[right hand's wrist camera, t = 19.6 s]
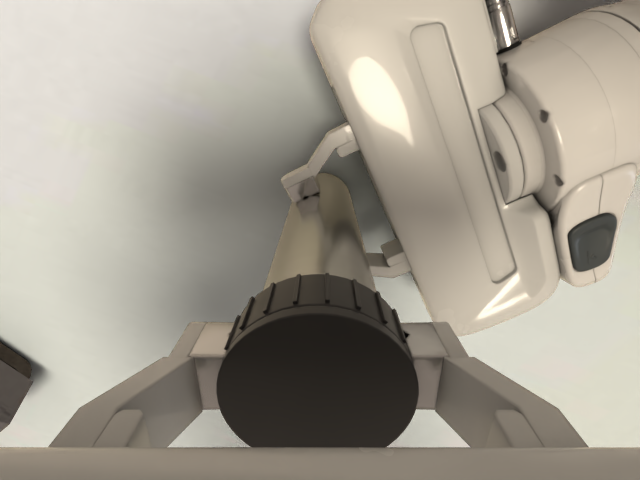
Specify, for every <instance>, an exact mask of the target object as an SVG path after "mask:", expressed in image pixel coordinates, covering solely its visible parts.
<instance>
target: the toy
mask: <svg viewBox="0 0 640 480" xmlns="http://www.w3.org/2000/svg"><path fill="white" fill-rule="evenodd" d="M31 370H32V369H31V365H30V363H29V362H28V361H27V360H26V359H24V358H23V357H21V356H20V355H18V354H17V353H15V352H14V351H12V350H11V349H9V348H8V347H6V346H5V345H3V344H2V343H0V432H1V431H2V430H3V429H4V428H6V427H7V426H8V425H9V424H10V422H11V421H12V419H13V417H14V415H15V414H16V412H17V410H18V408H19V406H20V405H21V403H22V401H23V399H24V397H25V395H26V394H27V392H28V390H29V388H30V386H31V385H32V383H33V381H31V380H30V379H29V378H30V376H31Z"/></svg>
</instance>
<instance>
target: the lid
mask: <svg viewBox="0 0 640 480" xmlns="http://www.w3.org/2000/svg"><path fill="white" fill-rule="evenodd" d="M406 342H407V341H406V338H405V335H404V332H403V329H402V326H401V323H400V321H399V318H398V315H397V312H396V310H395V309H393V310H392V309H391V307H390V306H389V305H388V304H387V303H386V301H385V300H384V299H382V298H381V296H380V293H379V292H378V291H376V292H374V291H372V290H371V289H370V288H368V287H366V286H364V285H362V284H360V283H358V282H357V280H356V279H353V280H350V279H348V278H344V277H340V276H335V275H329V273H325V274H309V275H301V274H297V276H296V277H292V278H288V279H285V280H283V281H280V282H277V283H274V282H273V283H271V284H270V287H268V288H266V289H265V290H263V291H262V292H261V293H259V294H258V295H257V296H256V297H255V298H254V297H251V298H250V300H249V303H248V305H247V307H246V308H245V309H244V311H243V312H242V314H241V316H239V315H238V316H237V318H236V320H235V323H234V325H233V328H232V330H231V333H230V335H229V338H228V340H227V342H226V345H225V347H224V350H227V351H226V354H225V356H224V359H223V361H222V364H221V367H220V369H219V372H218V377H217V382H216V393H217V399H218V404H219V407H220V410H221V413H222V415H223V417H224V419H225V421H226V422H227V424H228V425H229V427H230V428H231V429H232V431H233V432H234V433H235V434H236V435H237V436H238V437H239V438H240V439H241V440H243V441H244V442H245V443H246V444H247V445H249V446H250V447H378V448H385V447H387V446H388V445H390V444H391V443H392V442H393V441H394V440H396V439H397V438H398V437H399V436H400V435H401V433H402V432H403V431H404V430H405V429H406V427H407V426H408V424H409V423H410V421H411V419H412V417H413V415H414V413H415V410H416V407H417V403H418V396H419V383H418V378H417V374H416V370H415V367H414V364H413V362H412V360H411V356H410V353H409V350H408V347H407V345H406Z"/></svg>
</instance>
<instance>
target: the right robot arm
mask: <svg viewBox="0 0 640 480" xmlns="http://www.w3.org/2000/svg"><path fill="white" fill-rule="evenodd" d="M234 323H235V322H191V323H189V324H188V326H187V327H186V329H185V331H184V332H183V334H182V336H181V337H180V339H179V341H178V342H177V344H176V345H175V347H174V349H173V350H172V352H171V354H170V355H169V357H163V358H161V359H160V360H158V361H156V362H155V363H153V364H151V365H150V366H148V367H146V368H145V369H143V370H141V371H140V372H138V373H136V374H135V375H133V376H131V377H130V378H128V379H127V380H125V381H123V382H122V383H120V384H118V385H117V386H115V387H113V388H112V389H110V390H108V391H107V392H105V393H103V394H102V395H100V396H98V397H97V398H95V399H94V400H92V401H90V402H89V403H87V404H85V405H84V406H82V407H80V408H79V409H78V410H77V412H76V413H75V414H74V415H73V417H72V418H71V419H70V420H69V422H68V423H67V424H66V425H65V427H64V428H63V429H62V430H61V432H60V433H59V434H58V435H57V437H56V438H55V439H54V440H53V442H52V443H51V444H50V445H49V447H0V480H640V447H613V448H589V447H588V446H587V444H586V443H585V442H584V441H583V439H582V438H581V437H580V436H579V434H578V433H577V432H576V430H575V429H574V428H573V427H572V425H571V424H570V423H569V421H568V420H567V419H566V418H565V416H564V415H563V414H562V413H561V411H560V410H559V409H558V408H557V407H555V406H553V405H552V404H550V403H548V402H547V401H545V400H543V399H542V398H540V397H539V396H537V395H535V394H534V393H532V392H530V391H529V390H527V389H525V388H524V387H522V386H521V385H519V384H517V383H516V382H514V381H512V380H511V379H509V378H507V377H506V376H504V375H503V374H501V373H499V372H498V371H496V370H494V369H493V368H491V367H489V366H488V365H486V364H485V363H483V362H481V361H480V360H478V359H476V358H475V357H469V356H468V354H467V353H466V351H465V349H464V348H463V346H462V344H461V343H460V341H459V339H458V338H457V336H456V334H455V333H454V331H453V329H452V328H451V326H450V325H449V323H447V322H430V323H401V326H402V329H403V332H404V335H405V338H406V341H407V342H406V345H407V347H408V350H409V353H410V356H411V360H412V362H413V364H414V367H415V370H416V374H417V378H418V383H419V396H418V403H417V407H416V409H431V410H435V411H436V412H437V413H438V414H439V415H440V416H441V417H442V418H443V419H444V420H445V421H446V423H447V424H448V425H449V426H450V427H451V428H452V429H453V430H454V431H455V432H456V433H457V434H458V435H459V436H460V437H461V438H462V439H463V440H464V441H465V442H466V443H467V444H468V445H469V446H470V447H471V448H378V447H187V448H167V447H168V446H169V445H170V444H171V443H172V442H173V441H174V440H175V439H176V438H177V437H178V436H179V435H180V434H181V433H182V431H183V430H184V429H185V428H186V427H187V426H188V425H189V424H190V423H191V422H192V421H193V420H194V419H195V418H196V417H197V416H198V415H199V414H200V413H201V412H202V410H207V409H220V407H219V404H218V399H217V393H216V382H217V377H218V372H219V369H220V367H221V364H222V361H223V359H224V356H225V354H226V351H227V350H224V347H225V345H226V342H227V340H228V338H229V335H230V333H231V330H232V328H233V325H234Z"/></svg>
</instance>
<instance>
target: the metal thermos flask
mask: <svg viewBox="0 0 640 480" xmlns="http://www.w3.org/2000/svg"><path fill="white" fill-rule="evenodd" d="M316 177H317V179H318V181H319V184H320V192H318V193H316V194H314V195H311V196H304V198H303V199H302V200H301V201H299V202H296V203H291V206H290V209H289V212H288V215H287V218H286V221H285V224H284V227H283V230H282V233H281V236H280V239H279V243H278V246H277V249H276V252H275V255H274V258H273V261H272V264H271V267H270V270H269V273H268V276H267V279H266V283H265V286H264V289H263V290H265V289H266V288H268V287H270V284H271V283H273V282H274V283H277V282H280V281H283V280H285V279H288V278H292V277H296V276H297V274H301V275H309V274H325V273H329V275H335V276H340V277H344V278H348V279H350V280H353V279H356V280H357V282H358V283H360V284H362V285H364V286H366V287H368V288H370V289H371V290H372V291H374V292H376V288H375V284H374V281H373V277H372V273H371V270H370V266H369V262H368V259H367V255H366V251H365V247H364V244H363V240H362V236H361V233H360V229H359V225H358V222H357V218H356V214H355V211H354V207H353V203H352V200H351V196H350V193H349V190H348V188H347V186H346V185H345V183H344V182H343V181H342V180H341V179H339V178H338V177H336V176H334V175H332V174H328V173H318V174H317V175H316Z"/></svg>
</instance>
